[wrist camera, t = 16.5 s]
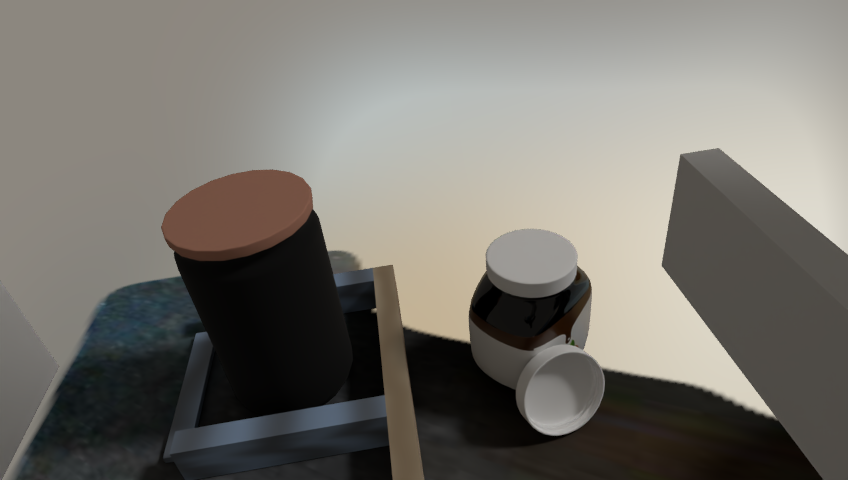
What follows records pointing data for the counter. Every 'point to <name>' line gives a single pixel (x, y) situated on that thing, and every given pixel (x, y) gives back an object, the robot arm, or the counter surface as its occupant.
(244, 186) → the coffee jar
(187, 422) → the divider rack
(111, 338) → the counter surface
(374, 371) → the counter surface
